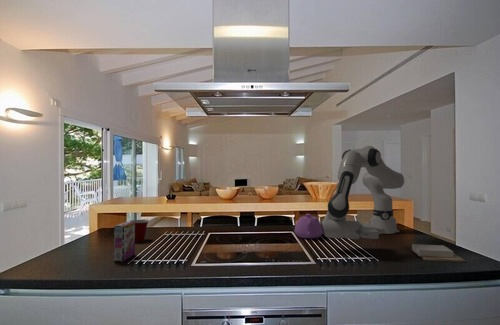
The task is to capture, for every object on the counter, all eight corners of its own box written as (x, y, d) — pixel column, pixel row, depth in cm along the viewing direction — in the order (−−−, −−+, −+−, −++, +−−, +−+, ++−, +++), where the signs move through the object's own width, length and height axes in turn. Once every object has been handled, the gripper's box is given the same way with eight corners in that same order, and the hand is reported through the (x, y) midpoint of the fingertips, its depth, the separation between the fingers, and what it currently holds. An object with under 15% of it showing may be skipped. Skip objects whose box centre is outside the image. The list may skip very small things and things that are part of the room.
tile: (411, 244, 141) (443, 245, 138) (412, 250, 141) (443, 251, 138) (419, 249, 131) (453, 251, 128) (419, 256, 131) (453, 258, 128)
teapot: (333, 241, 162) (332, 217, 162) (294, 240, 165) (294, 216, 165) (328, 233, 183) (328, 211, 184) (294, 232, 187) (294, 211, 187)
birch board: (412, 250, 144) (412, 248, 144) (448, 251, 140) (448, 250, 140) (424, 260, 128) (424, 258, 128) (465, 262, 125) (465, 260, 125)
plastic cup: (152, 240, 170) (152, 219, 170) (135, 243, 161) (135, 222, 162) (142, 237, 176) (142, 218, 177) (126, 241, 168) (125, 220, 168)
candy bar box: (123, 262, 130) (123, 226, 130) (113, 261, 130) (113, 225, 131) (135, 254, 141) (135, 221, 141) (125, 254, 142) (125, 221, 142)
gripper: (357, 227, 132) (390, 229, 129) (352, 220, 152) (379, 221, 149) (358, 241, 132) (390, 243, 129) (352, 232, 152) (380, 233, 149)
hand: (384, 231), depth 139 cm, fingers closed
